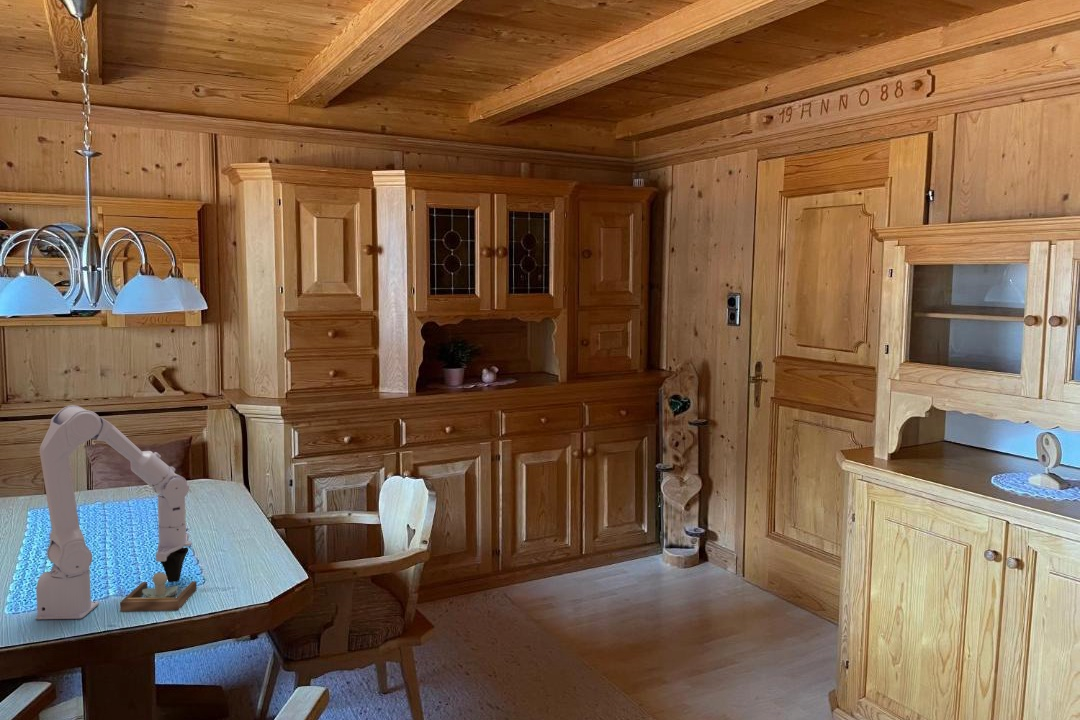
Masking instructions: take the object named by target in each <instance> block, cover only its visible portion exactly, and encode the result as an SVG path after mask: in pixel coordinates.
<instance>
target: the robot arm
mask: <svg viewBox="0 0 1080 720" xmlns="http://www.w3.org/2000/svg"><path fill="white" fill-rule="evenodd" d="M91 439H93V440H95V441H99V442H104V443H106V444H107V445H108V446H110V447H111V448H112V449H114V450H115V451H116V452H118V453H119V454H120V455H121V456H123V457H124V458H125V459H126V460H128V461H129V462H130V463H129V464H130V471H131V472H132V473H133V474H135V475H136V477H138V478H140V480H142V481H144V483H146V484H147V485H148V486H150V487H151V488H152V490H153V492H154V493H157V494H158V495H157V513H158V515H157V516H158V519H157V521H158V544H157V551H156V552H155V561H156V562H160V564H161V565H162V567H163V569H164V572H165V573H164V574H166V576H167V582H168V583H178V582H179V581H180V579H181V575H182V571H183V570H182V569H183V565H184V561H185V559H186V556H187V554H188V553H189V548H188V547H190V546H191V545H192V541H190V540H189V532H187V528H186V526H187V525H186V524H187V523H186V522H187V521H186V498H185V497H186V496H187V495H188V493H189V490H190V485H188V482H187V480H186V478H185V477H184V476H182V475H179V474H178V473H175V472H176V468H175V467H174V466H169V465H168V464H167V463H166V462H164V461H163V460H162V459H161V457H162V456H161V454H159V453H158V452H157V451H154V452H153V451H151V450H144V451H142V450H141V449H140V448H139V447H138V446H136V444H134V443H133V442H132V441H131V440H130V439H129V438H128V437H127V436H126V435H125V434H124V433H122V431H120V430H119V429H118V428H117V427H116V426H115V425H113V424H112V423H111V422H110V421H108V420H107V419H105V418H103V417H102V416H101V417H100V416H99V414H97V413H96V412H95V411H92V410H88V409H86V408H83V407H81V406H80V405H76V404H75V405H74V404H72V405H66V406H64V407H63V408H62V409H60V410H59V411H58V412H57V413H56V414H55V415H53V417H51V419H50V423H49V427H48V429H47V431H46V434H45V436H44V438H43V440H42V442H41V444H40V446H39V457H40V463H41V469H42V475H43V482H44V488H45V494H46V501H47V507H48V512H49V519H50V525H51V526H50V527H51V530H50V533H49V545H48V547H47V551H46V554H47V559H48V560H49V561H50V562H51V563H52V564H53V565H52V567H51V569H50V571H45V572H43V573H42V574H41V575H40V576H39V578H38V580H37V583H36V589H35V590H36V592H35V593H36V610H37V611H36V612H37V613H36V614H37V615H36V616H35V620H74V619H75V620H76V619H77V620H79V619H80V620H81V619H84V617H86V616H87V615H88V614H89V613H90V612H91V611H93V610H94V609H95V608H96V607H97V606H99V604H100V601H92V596H91V574H90V573H91V572H90V571H91V570H90V568H91V567H90V566H91V565H92V562H93V553H92V551H91V550H90V549H89V547H87V545H86V540H85V537H84V534H83V532H82V529H81V527H80V522H79V515H78V509H77V502H76V496H75V489H74V482H73V476H72V468H71V462H70V455H71V454H72V453H73V452H74V451H75V450H76V449H77V448H78V447H79V446H81V445H83V444H85V443H86V442H88V441H90V440H91Z"/></svg>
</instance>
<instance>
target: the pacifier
mask: <svg viewBox="0 0 1080 720" xmlns="http://www.w3.org/2000/svg"><path fill="white" fill-rule="evenodd" d="M167 582H168V579H167V576H166V573H164V572H159V571H158V572H156V573H155V574H154V575H152V583H153V584H154V588H151V587H149V588H148V587H147V589H143V590H142V593H143V595H142V596H144V597H145V598H152V597H172V596H174V595H177V593H178V589H179V586H177V585H176V586H175V585H174V586H169V587H166V583H167Z"/></svg>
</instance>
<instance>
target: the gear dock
mask: <svg viewBox="0 0 1080 720" xmlns="http://www.w3.org/2000/svg"><path fill="white" fill-rule="evenodd" d="M147 588H148V582H147V581H142V582H141V583H139V584H138V586H136V587H135V588H134V589H133V590H132V591H131V592H130V593H128V595H126V597H124V598H123V599H122V600H121V601H120V602H119V603H120V604H119V609H120V610H119V611H120V612H145V611H146V612H147V611H148V612H149V611H152V612H153V611H154V612H155V611H160V612H161V611H179V610H180V609H181V608H182V606H184V604H185V603H186V602H187V601H188V600H189V599H190V598H191V596H192V595H193V594H194V593H196V591H197V590H196V589H197V588H198V587H197V580H195V581H194V580H193V581H191V582H190V583H189V584H188V585H187V586H186V587H185V588H184V589H183V590H182V591H181V592H180V593H179V594H178V595H177V596H173V597H172V596H170V597H152V598H148V597H142V596H144V595H143V593H142V590H143V589H147ZM189 597H190V598H189ZM188 598H189V599H188ZM186 600H187V601H186ZM179 608H180V609H179Z"/></svg>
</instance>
